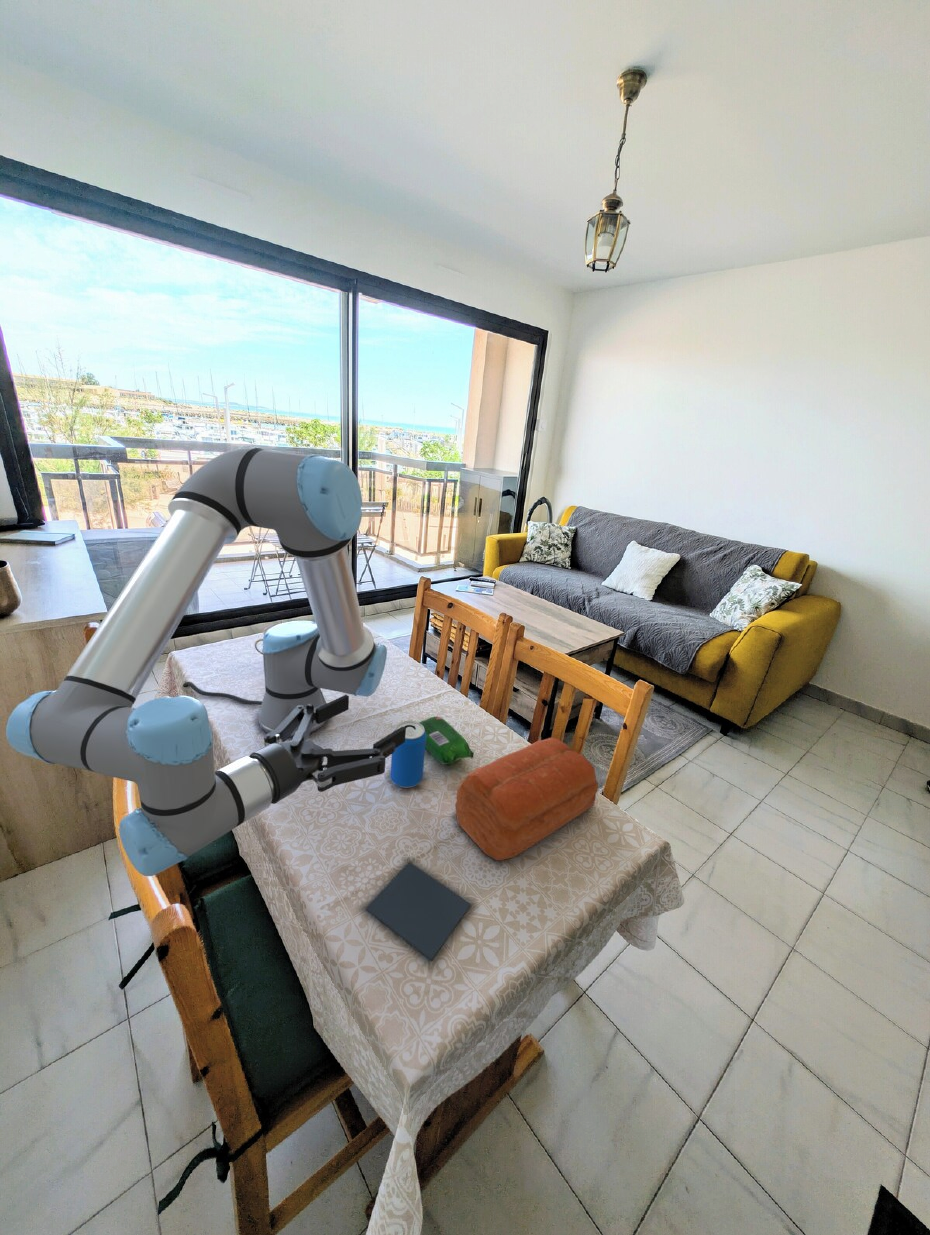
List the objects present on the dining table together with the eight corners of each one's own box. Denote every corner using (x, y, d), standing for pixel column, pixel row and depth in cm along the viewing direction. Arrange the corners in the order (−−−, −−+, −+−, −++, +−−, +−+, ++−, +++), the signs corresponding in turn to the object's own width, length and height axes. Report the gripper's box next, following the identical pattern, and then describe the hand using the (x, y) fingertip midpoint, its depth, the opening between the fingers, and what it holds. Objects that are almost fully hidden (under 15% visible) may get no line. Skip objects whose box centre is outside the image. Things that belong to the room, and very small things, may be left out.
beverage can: (420, 767, 98) (425, 719, 94) (423, 789, 92) (428, 739, 88) (389, 768, 97) (392, 719, 93) (390, 791, 91) (393, 739, 87)
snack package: (446, 777, 97) (449, 756, 95) (409, 735, 108) (411, 716, 106) (474, 766, 101) (477, 746, 99) (435, 727, 112) (437, 708, 110)
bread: (600, 808, 93) (612, 765, 89) (501, 873, 77) (510, 824, 73) (543, 763, 104) (551, 723, 100) (445, 812, 88) (451, 766, 84)
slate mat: (365, 909, 69) (365, 907, 68) (409, 863, 77) (409, 861, 76) (431, 961, 63) (431, 959, 63) (470, 905, 71) (471, 903, 71)
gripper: (213, 761, 71) (326, 707, 88) (319, 851, 58) (428, 768, 75) (208, 719, 69) (326, 672, 85) (318, 804, 56) (432, 729, 72)
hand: (374, 717), depth 80 cm, fingers open, 13 cm apart
